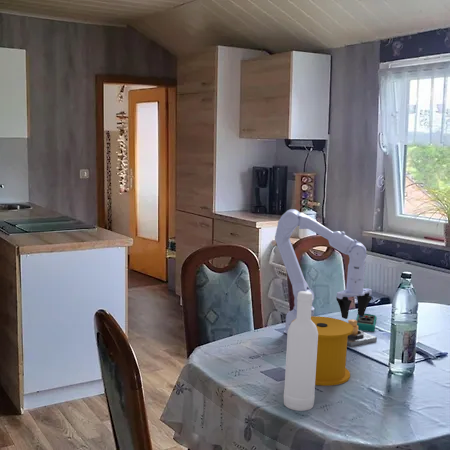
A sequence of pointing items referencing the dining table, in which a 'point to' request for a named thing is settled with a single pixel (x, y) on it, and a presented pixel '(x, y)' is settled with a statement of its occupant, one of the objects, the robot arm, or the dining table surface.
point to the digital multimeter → (366, 322)
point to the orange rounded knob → (354, 326)
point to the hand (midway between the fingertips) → (352, 316)
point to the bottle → (301, 357)
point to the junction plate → (360, 339)
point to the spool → (331, 350)
